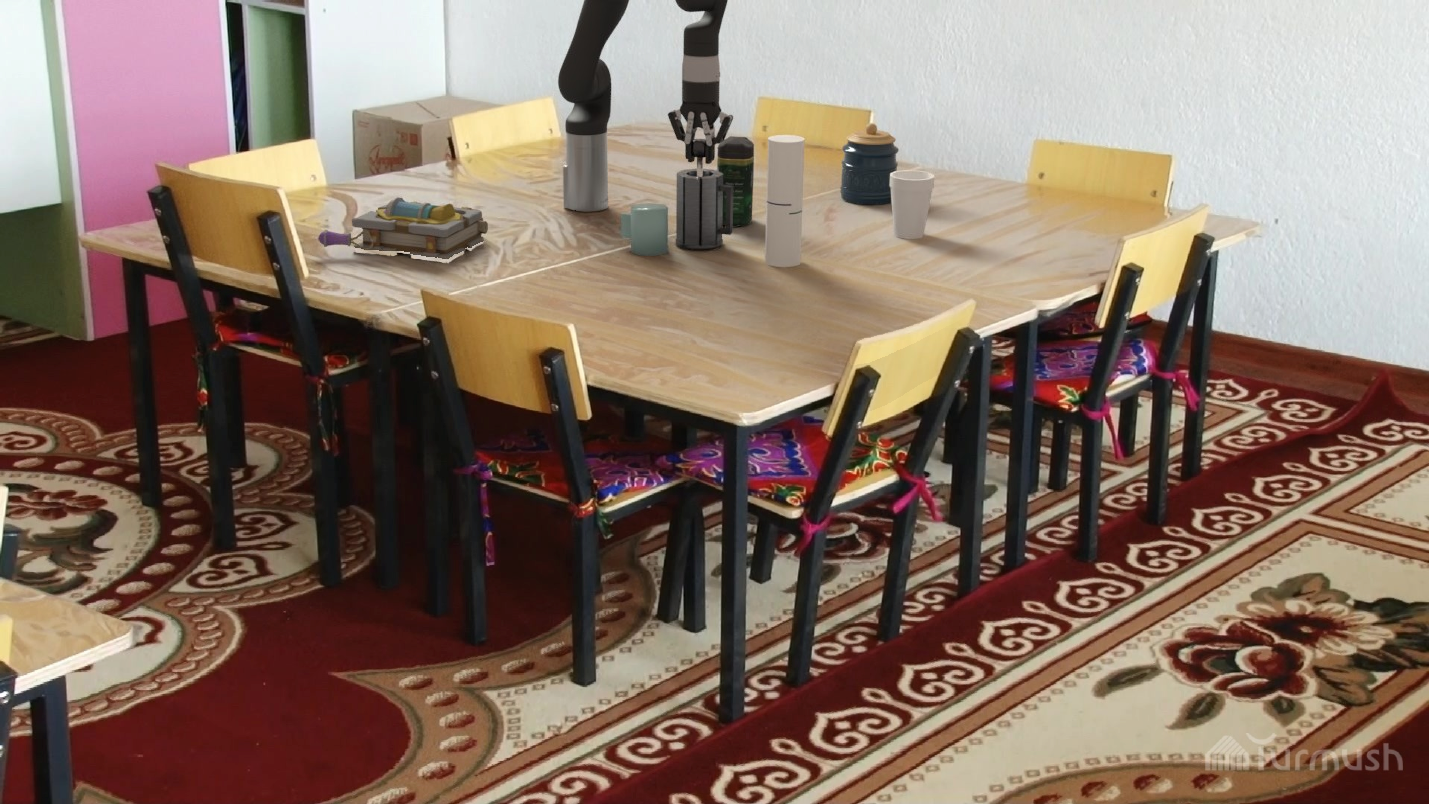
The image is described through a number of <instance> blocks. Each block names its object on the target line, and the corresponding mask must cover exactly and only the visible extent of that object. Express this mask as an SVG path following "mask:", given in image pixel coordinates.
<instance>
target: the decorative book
mask: <svg viewBox="0 0 1429 804" xmlns="http://www.w3.org/2000/svg"><path fill="white" fill-rule="evenodd" d="M351 225H352V227H353V228H359V229H360V228H361V229H362V231H361V232H360V233H358V234H357V235H356V236H355V237H352V233H351V232H348V233H339V232H335V231H334V232H333V231H329V230H328V229H324V231H322V232H320V234H319V235H318V238H317V240H318V241H319V242H320V243H321V244H322V245H323V247H325V248H326V247H331V246H336V245H337V246H340V245H341V246H347V247H351V244H353V245H354V246H353V248H354V247H355V248H361V249H364V250H379V251H404V252H410V254H413V255H421V256H426V257H435V258H437V257H438V258H442V259H449V258H450V257H452V256H453V255H454V254H458V253H460V252H462V251H466V250H465V248H467V247H468V248H472V246H474V245H476V244H478V243H480V242H483V241H484V242H485V237H483V236H482V234H483V235H485V234H487V233H488V232H489V223H488V222H487V221H486V220H484V217H483V213H482V211H481V210H480V209H473V208H471V207H468V206H462V207H454V205H453V204H451V203H448V204H444V205H436V204H435V205H434V204H431V203H430V202H424V203H421V202H417V201H410V202H409V201H405V200H404V199H403V197H395V198H393V199H392V200H390V201H389V202H388V203H386V204H384V205H381V206H379V207H377V209H376V210H375V211H374V210H370V211H367V212H366V213H364V214H362V215H359V216H357V217H354V218H352V219H351ZM361 236H362V242H360V243H357V242H355V240H357V239H358V238H359V237H361Z"/></svg>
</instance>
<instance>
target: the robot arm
mask: <svg viewBox="0 0 1429 804" xmlns="http://www.w3.org/2000/svg"><path fill="white" fill-rule="evenodd" d="M629 3H630V0H583V4H582V7H581V9H580V13H579V17H578V20H577V23H576V27H575V31H574V34H573V37H572V39H571V42H570V45H569V47H568V49H567V52H566V54H565V57H564V60H563V62H562V65H561V67H560V69H559V73H558V76H557V77H558V79H557V84H558V90H559V92H560V95H561V96H562V98H563V99H564V100H565V101H567V102H568V103H571V104H573V108H572V110H571V112H570V114H569V115H568V117H566V119H565V125H564V126H565V128H564V129H565V160H566V161H565V162H566V164H565V165H562V183H563V185H562V186H563V187H562V188H563V189H562V192H563V194H562V195H563V208H564V207H565V208H564V209H569V210H571V211H575V210H576V211H575V212H598V211H603V210H606V209H608V208H609V177H608V173H609V171H608V169H609V168H608V166H609V165H608V161H609V160H608V123H609V120H610V117H611V111H612V110H611V109H612V77H611V72H610V69H609V68H608V65H607V64H606V62H605V61H604V60H602V59H601V55H602V52H603V50H604V47H605V45H606V43H607V42H608V40H609V38H610V36H611V35H612V34H613V32H614V31H615V29H616V28H617V27H618V25H619V23H620V21H621V20H622V18H623V17H624V14H625V13H626V10H627V8H628V5H629ZM675 3H676V5H677V6H678V7H679V8H680V9H681V10H682V11H684V12H686V13H687V12H688V13H697V12H698V13H699V12H704V13H703V14H702V17H701V19H700V20H697V21H696V22H692V23H690V24H687V25H686V26H685V27H684V29H683V49H682V50H683V55H682V56H683V57H682V64H681V65H682V67H681V69H682V70H681V85H682V86H681V105H680V108H679V109H674V110H671V111H669V112H668V114H667V116H668V119H669V122H670V125H671V127H672V131H673V132H674V135H675V137H676V138H675V139H676V140H677V141H682V142H684V146H685V150H684V151H685V154H684V155H685V156H684V157H685V160H687V162H688V163H693V162H695V160H696V157H693V156H692V140H693V139H696V133H697V130H698V128H699V129H702V131H703V134H704V136H705V139H706V143H707V146H706V150H705V157H704V158H705V164H706V165H710V164H712V162H713V161H714V160H715V158H716V156H715V155H716V145H719V144H720V142H722V141H724V140H725V139H726V137H727V133H728V132H729V130H730V127H731V124H732V123H733V121H734V116H733V115H732V114H727V113H725V112H723V111H722V108H721V106H720V80H721V79H720V77H721V71H720V70H721V68H720V58H719V54H720V53H719V52H720V49H719V48H720V47H719V46H720V37H719V36H720V31H721V27H722V24H723V23H722V22H723V20H724V19H723V18H724V15H725V12H726V9H727V5H728V0H675ZM682 117H683V118H684V120H685V122H686V128H685V129H684V126H683V124H682V121H681V120H682ZM718 118H719V123H720V127H719V130H718V131H717V134H716V133H715V132H716V126H715V123H716V121H717V120H718Z"/></svg>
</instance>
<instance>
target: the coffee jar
mask: <svg viewBox="0 0 1429 804" xmlns="http://www.w3.org/2000/svg"><path fill="white" fill-rule="evenodd" d="M717 145H718V146H717V147H716V149H717V155H716V156H717V157H716V158H717V159H716V160H717V161H716V165H717V166H716V170H717V171H719V172H721V173H723V185H733V228H737V227H740V226H744V227H746V226H748V225H750V223H751V221H752V219H753V199H754V198H753V196H754V194H753V193H754V177H755V176H754V173H755V172H754V171H755V170H754V167H755V165H754V163H755V144H754V142H753V141H752V140H750V139H748V137H746V136H732V135H731V136H728V137H727V138H725V139H724V141H722V142H720V143H719V144H717ZM722 226H726V192H725V191H723V217H722Z"/></svg>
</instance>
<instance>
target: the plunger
mask: <svg viewBox="0 0 1429 804" xmlns="http://www.w3.org/2000/svg"><path fill="white" fill-rule="evenodd" d="M706 146H707V143H706V138H694V139H693V140H692V156H693V157H695V158H696V169H697V177H703V169H704V158H705V150H706Z"/></svg>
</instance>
